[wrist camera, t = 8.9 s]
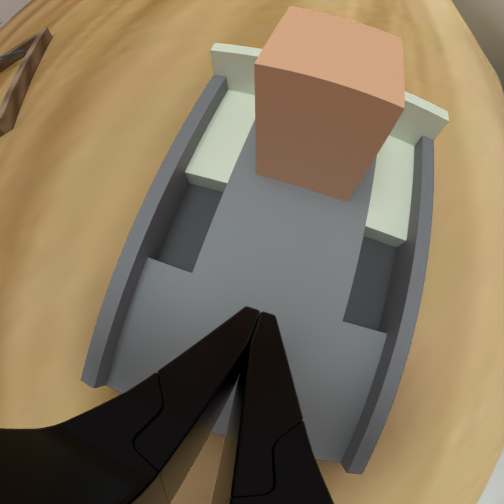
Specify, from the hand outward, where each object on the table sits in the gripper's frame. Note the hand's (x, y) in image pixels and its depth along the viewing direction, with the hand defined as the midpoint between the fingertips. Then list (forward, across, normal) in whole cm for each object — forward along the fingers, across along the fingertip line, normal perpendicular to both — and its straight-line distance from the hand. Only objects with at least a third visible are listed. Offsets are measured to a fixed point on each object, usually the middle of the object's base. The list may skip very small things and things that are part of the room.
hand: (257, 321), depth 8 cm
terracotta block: (+14, 0, -2) cm, 14 cm away
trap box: (+11, 0, +4) cm, 11 cm away
